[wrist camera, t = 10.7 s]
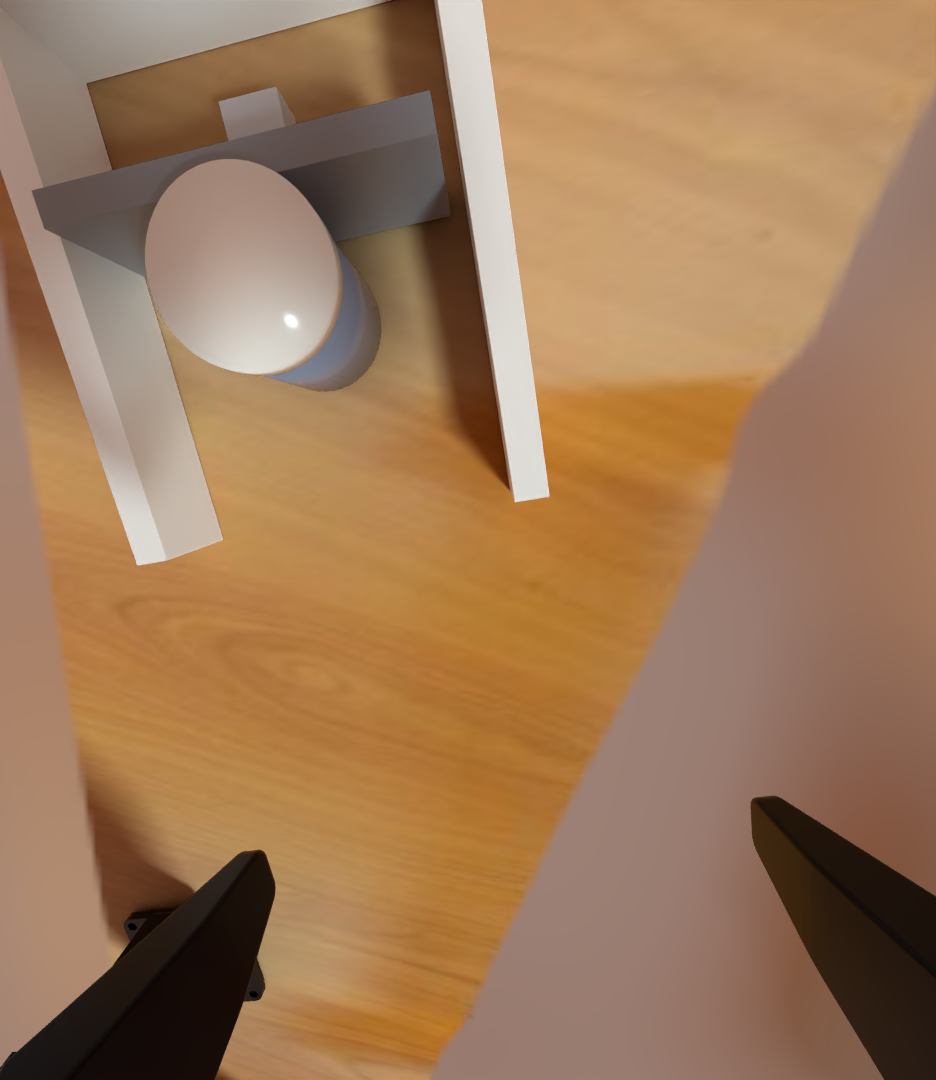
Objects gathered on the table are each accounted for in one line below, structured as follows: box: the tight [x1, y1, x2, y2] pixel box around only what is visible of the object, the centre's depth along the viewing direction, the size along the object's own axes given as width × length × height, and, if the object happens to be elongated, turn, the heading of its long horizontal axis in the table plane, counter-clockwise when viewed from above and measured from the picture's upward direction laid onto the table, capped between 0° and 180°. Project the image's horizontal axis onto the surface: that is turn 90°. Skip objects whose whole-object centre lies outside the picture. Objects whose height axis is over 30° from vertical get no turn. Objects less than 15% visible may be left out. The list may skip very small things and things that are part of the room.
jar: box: [145, 159, 381, 392], centre depth 15 cm, size 5×5×6 cm
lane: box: [0, 0, 550, 565], centre depth 15 cm, size 19×15×5 cm
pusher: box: [32, 87, 451, 278], centre depth 14 cm, size 4×12×4 cm, turn 100°
